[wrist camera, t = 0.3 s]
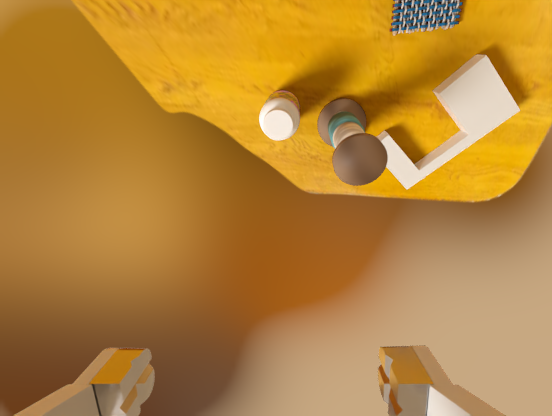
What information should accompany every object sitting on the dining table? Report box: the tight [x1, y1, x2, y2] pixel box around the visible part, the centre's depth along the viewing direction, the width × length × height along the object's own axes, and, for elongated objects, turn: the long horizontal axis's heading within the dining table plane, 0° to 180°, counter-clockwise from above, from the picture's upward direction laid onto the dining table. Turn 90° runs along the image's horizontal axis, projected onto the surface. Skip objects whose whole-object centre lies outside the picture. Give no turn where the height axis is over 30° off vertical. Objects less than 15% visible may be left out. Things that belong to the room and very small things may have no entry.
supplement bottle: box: [259, 90, 300, 140], centre depth 48 cm, size 7×7×13 cm
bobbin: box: [318, 98, 388, 186], centre depth 46 cm, size 9×9×20 cm
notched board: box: [377, 54, 520, 189], centre depth 52 cm, size 22×12×3 cm, turn 136°
